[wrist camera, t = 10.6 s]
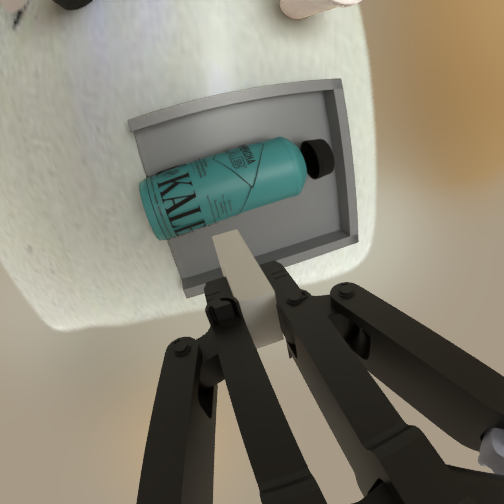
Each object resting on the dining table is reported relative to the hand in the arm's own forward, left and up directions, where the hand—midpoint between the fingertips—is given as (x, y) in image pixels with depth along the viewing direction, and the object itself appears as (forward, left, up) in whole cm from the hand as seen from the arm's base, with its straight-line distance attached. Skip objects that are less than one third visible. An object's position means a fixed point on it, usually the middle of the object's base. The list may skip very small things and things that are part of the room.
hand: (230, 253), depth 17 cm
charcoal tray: (0, +6, -16) cm, 17 cm away
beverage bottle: (-1, -7, -12) cm, 14 cm away
